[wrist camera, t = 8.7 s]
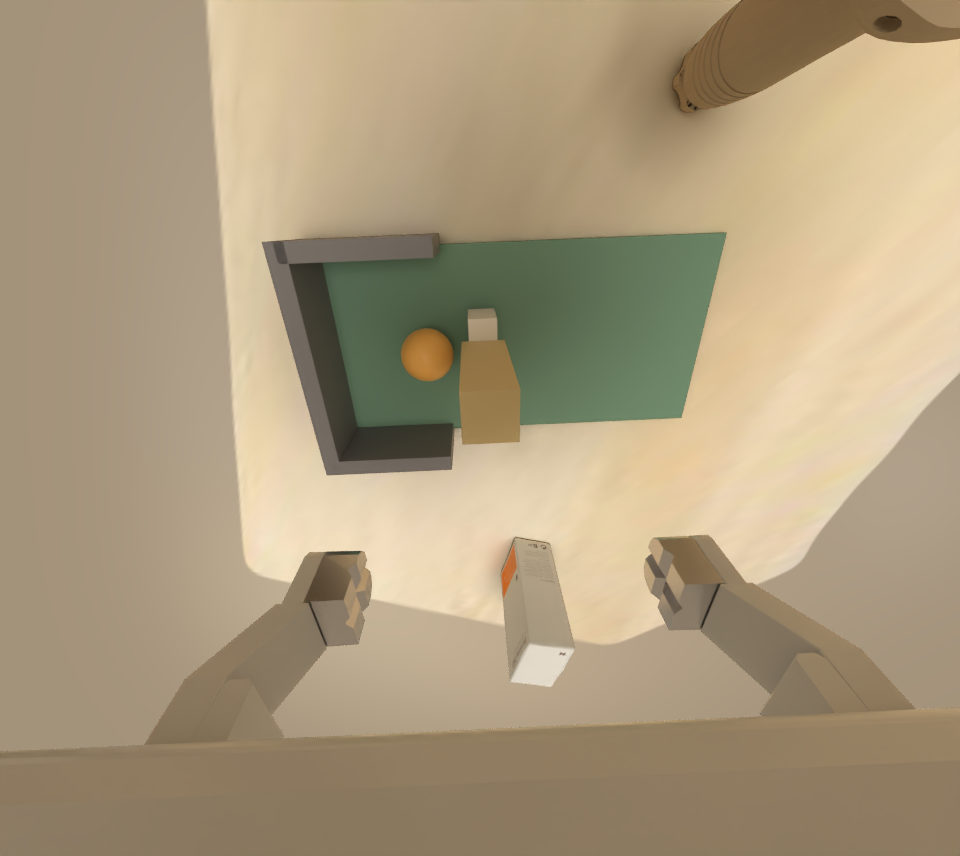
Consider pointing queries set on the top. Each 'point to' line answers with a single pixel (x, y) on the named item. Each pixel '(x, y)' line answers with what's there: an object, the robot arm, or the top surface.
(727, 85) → the handle
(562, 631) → the skincare box
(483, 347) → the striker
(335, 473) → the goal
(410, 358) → the ball
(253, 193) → the top surface
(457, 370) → the pitch
